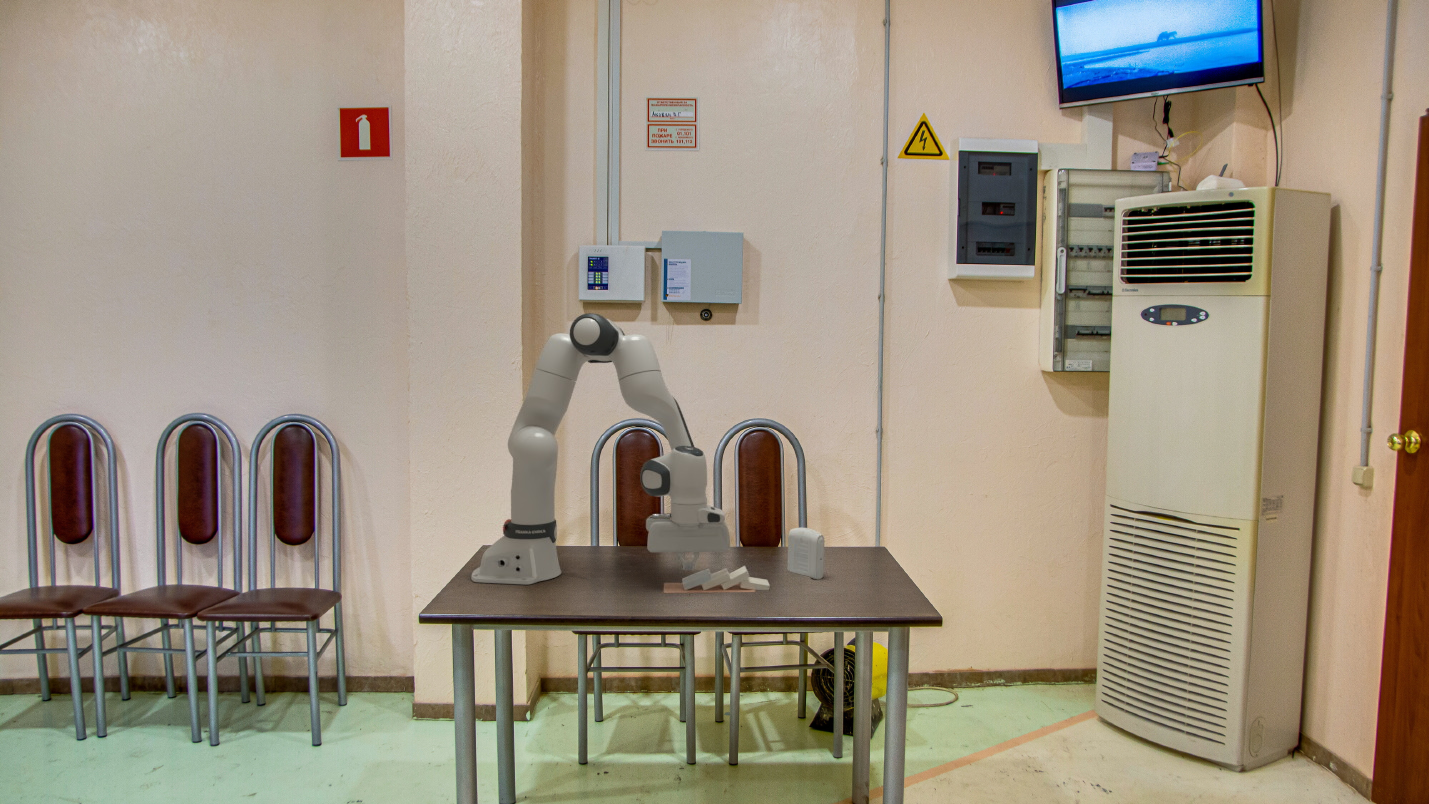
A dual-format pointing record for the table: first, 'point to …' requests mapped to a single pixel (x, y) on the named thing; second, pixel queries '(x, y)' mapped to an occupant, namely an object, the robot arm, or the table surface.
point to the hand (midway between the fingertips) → (688, 569)
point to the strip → (699, 589)
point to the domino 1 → (696, 579)
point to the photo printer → (806, 552)
